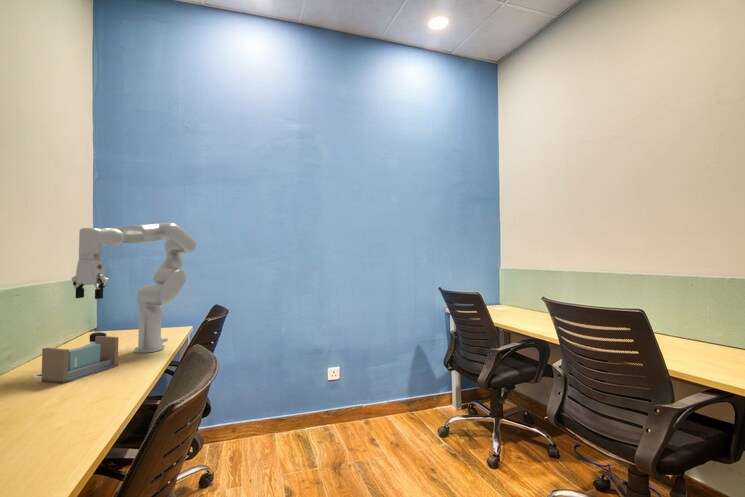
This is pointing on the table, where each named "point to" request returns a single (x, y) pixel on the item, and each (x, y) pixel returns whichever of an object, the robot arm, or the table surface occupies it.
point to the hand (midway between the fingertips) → (89, 298)
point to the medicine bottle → (93, 336)
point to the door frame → (58, 368)
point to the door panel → (83, 356)
